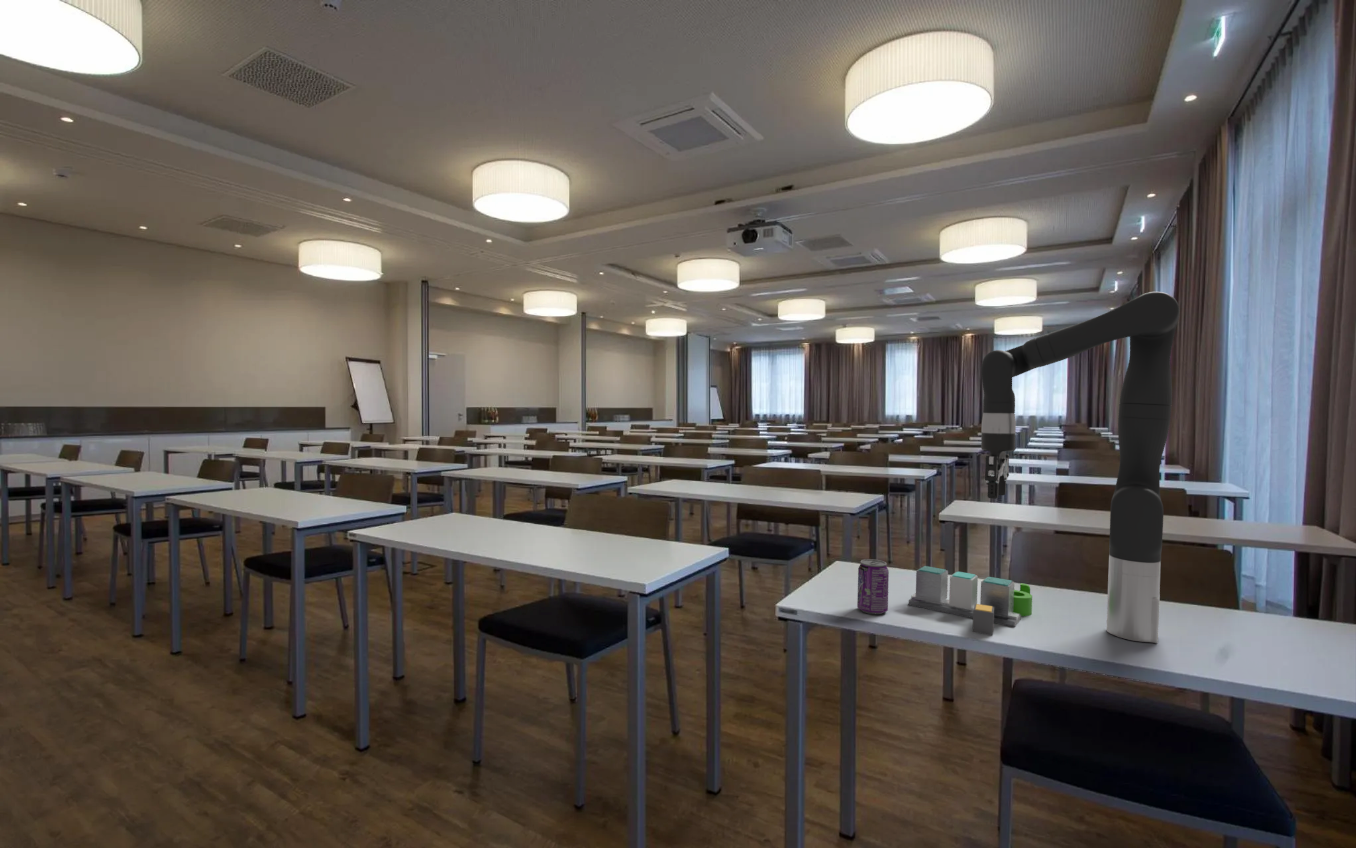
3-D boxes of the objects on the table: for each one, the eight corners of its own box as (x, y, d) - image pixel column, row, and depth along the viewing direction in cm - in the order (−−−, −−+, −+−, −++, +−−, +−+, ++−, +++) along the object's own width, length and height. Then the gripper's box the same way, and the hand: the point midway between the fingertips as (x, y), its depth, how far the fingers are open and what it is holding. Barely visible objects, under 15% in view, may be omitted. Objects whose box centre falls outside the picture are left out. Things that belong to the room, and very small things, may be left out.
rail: (1020, 619, 148) (1022, 581, 147) (1014, 627, 142) (1015, 587, 142) (917, 598, 163) (918, 563, 162) (908, 604, 157) (909, 568, 157)
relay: (993, 628, 141) (994, 606, 141) (992, 635, 137) (993, 612, 137) (974, 625, 143) (974, 603, 143) (972, 632, 139) (973, 609, 139)
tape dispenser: (1031, 619, 149) (1032, 599, 149) (998, 613, 152) (998, 595, 152) (1031, 602, 162) (1031, 584, 162) (1000, 597, 165) (1000, 580, 165)
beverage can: (862, 604, 157) (864, 557, 156) (891, 610, 153) (892, 561, 152) (853, 611, 151) (854, 562, 151) (882, 618, 147) (883, 567, 147)
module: (976, 603, 153) (977, 574, 153) (971, 609, 149) (972, 579, 148) (955, 599, 156) (956, 570, 156) (949, 605, 152) (950, 575, 152)
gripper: (1009, 432, 147) (1007, 501, 147) (1020, 431, 158) (1019, 495, 158) (974, 431, 151) (973, 498, 152) (988, 430, 163) (987, 492, 163)
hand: (996, 496), depth 155 cm, fingers open, 8 cm apart
